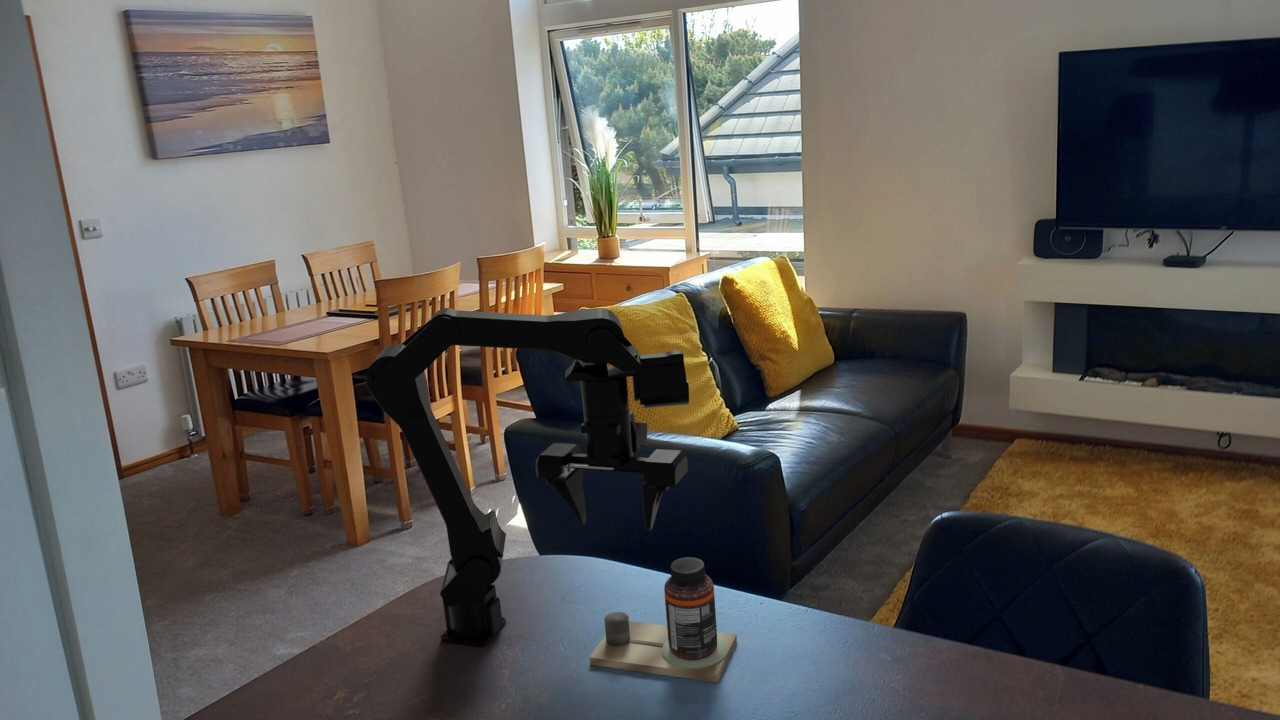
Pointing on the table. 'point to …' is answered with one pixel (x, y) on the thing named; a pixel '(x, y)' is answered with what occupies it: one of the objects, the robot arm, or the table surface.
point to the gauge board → (648, 650)
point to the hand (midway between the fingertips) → (616, 526)
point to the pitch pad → (701, 663)
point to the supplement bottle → (690, 610)
